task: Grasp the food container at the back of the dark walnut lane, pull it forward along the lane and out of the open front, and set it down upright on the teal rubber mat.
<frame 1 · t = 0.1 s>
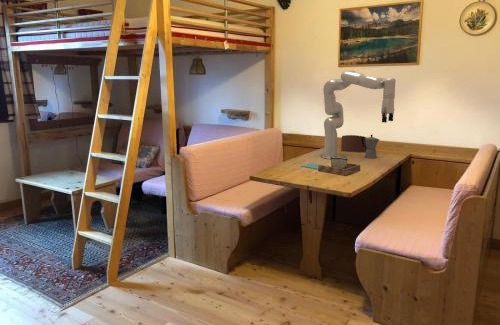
hand: (387, 121, 282), 31 cm above the table, tool pointing down, fingers open, 9 cm apart
mat: (314, 166, 289), on the table
coffeepot: (369, 157, 317), on the table
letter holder: (353, 151, 344), on the table
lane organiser: (338, 170, 276), on the table
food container: (339, 171, 275), resting in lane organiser
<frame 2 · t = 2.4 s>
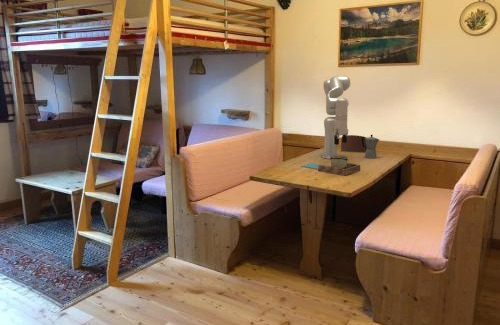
hand: (340, 143, 271), 19 cm above the table, tool pointing down, fingers open, 9 cm apart
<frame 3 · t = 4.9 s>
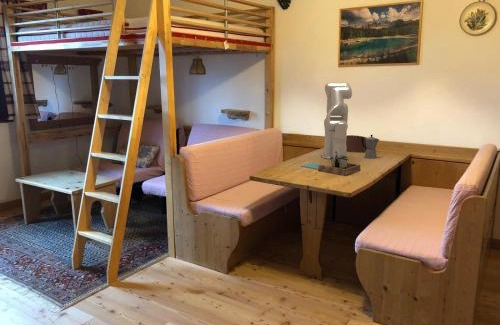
hand: (339, 166, 274), 3 cm above the table, tool pointing down, fingers closed on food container, 6 cm apart
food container: (340, 171, 276), resting in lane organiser, touching gripper
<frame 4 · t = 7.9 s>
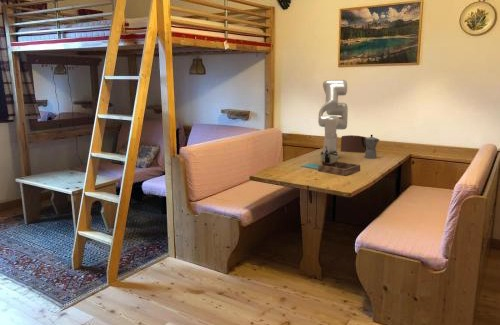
hand: (329, 161, 280), 5 cm above the table, tool pointing down, fingers closed on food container, 6 cm apart
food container: (330, 165, 281), point 2 cm above the table, touching gripper
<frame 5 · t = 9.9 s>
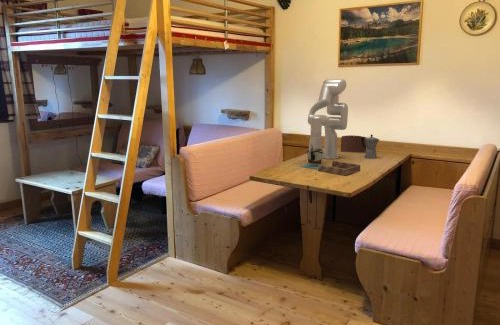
hand: (315, 159, 288), 5 cm above the table, tool pointing down, fingers closed on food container, 6 cm apart
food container: (316, 163, 289), point 2 cm above the table, touching gripper
when the fingers open (4 cm above the table, at t = 11.3 s): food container stays where it is, resting on mat.
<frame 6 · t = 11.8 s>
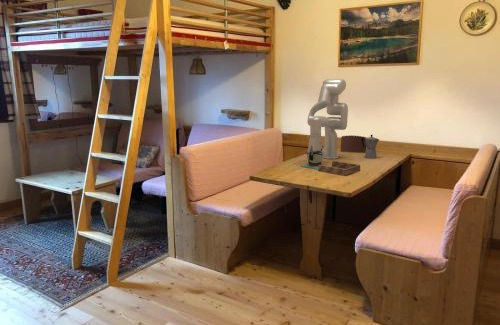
hand: (315, 159, 288), 5 cm above the table, tool pointing down, fingers open, 9 cm apart
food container: (316, 165, 290), point 1 cm above the table, touching gripper, mat
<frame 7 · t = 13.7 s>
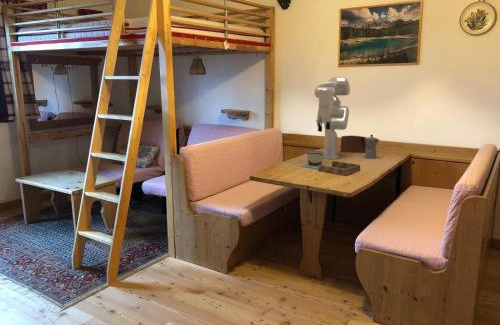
hand: (324, 130, 290), 25 cm above the table, tool pointing down, fingers open, 9 cm apart
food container: (316, 165, 290), resting on mat
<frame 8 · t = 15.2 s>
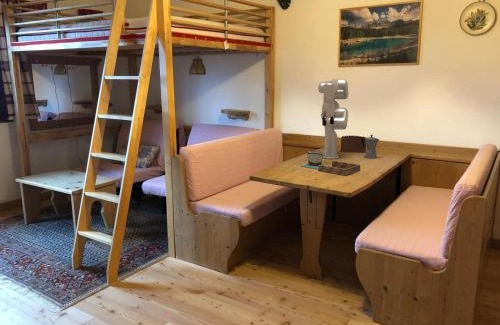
hand: (328, 124, 292), 28 cm above the table, tool pointing down, fingers open, 9 cm apart
at the end: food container inside the target area on the mat (1.8 cm from its centre), point 0.4 cm above the mat's base; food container tilted 0°; the gripper is holding nothing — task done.
